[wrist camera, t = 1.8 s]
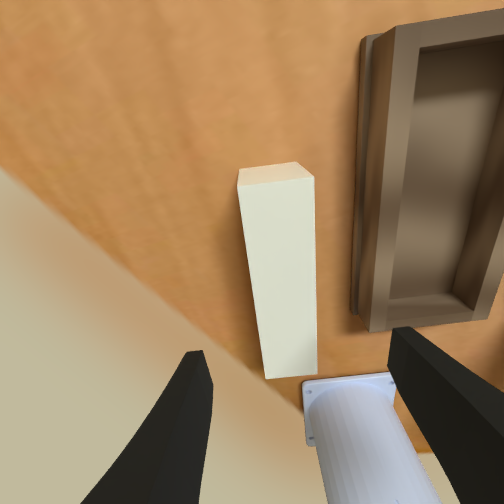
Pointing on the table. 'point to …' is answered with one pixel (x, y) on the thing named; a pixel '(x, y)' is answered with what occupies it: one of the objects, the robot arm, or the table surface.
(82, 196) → the table surface
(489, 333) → the table surface
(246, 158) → the table surface
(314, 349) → the white rectangular block
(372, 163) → the tray
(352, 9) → the table surface
